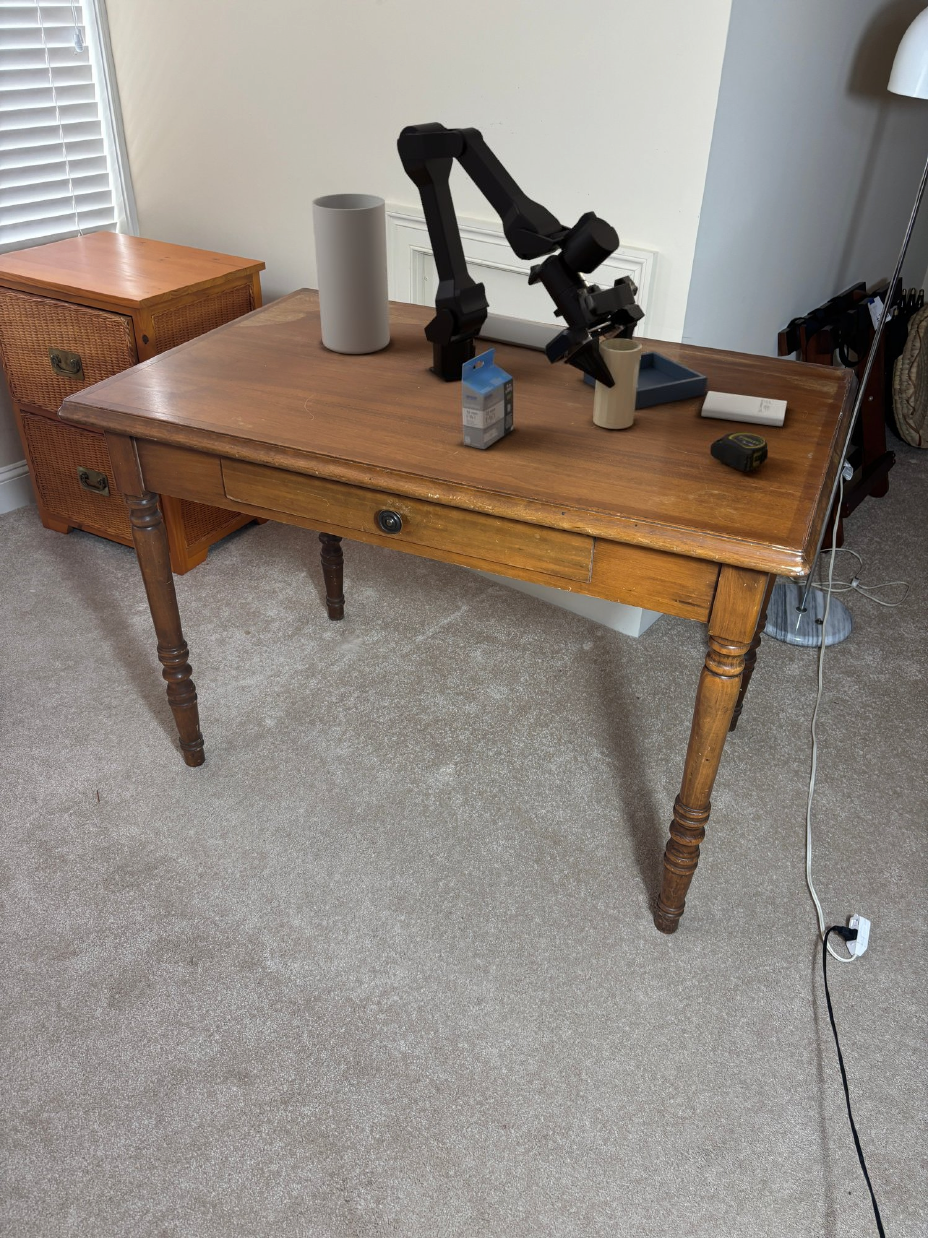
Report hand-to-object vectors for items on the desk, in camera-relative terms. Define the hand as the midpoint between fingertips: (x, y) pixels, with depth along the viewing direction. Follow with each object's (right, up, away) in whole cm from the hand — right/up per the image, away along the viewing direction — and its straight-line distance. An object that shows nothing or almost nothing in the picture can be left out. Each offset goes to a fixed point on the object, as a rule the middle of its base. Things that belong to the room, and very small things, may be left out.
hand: (624, 380), depth 148 cm
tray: (+6, +3, +18) cm, 19 cm away
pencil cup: (-1, -5, +5) cm, 7 cm away
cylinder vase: (-44, +15, +36) cm, 59 cm away
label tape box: (-21, -9, 0) cm, 22 cm away
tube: (-14, +15, +36) cm, 41 cm away
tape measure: (+15, -14, -8) cm, 22 cm away
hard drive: (+20, -3, +9) cm, 22 cm away
